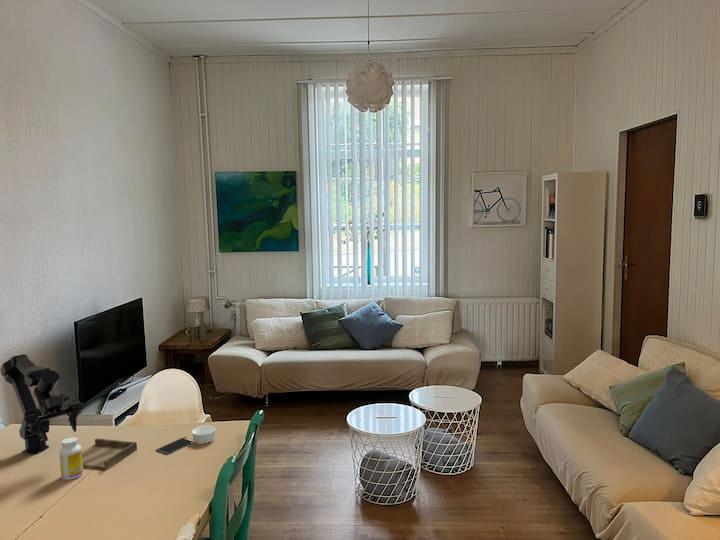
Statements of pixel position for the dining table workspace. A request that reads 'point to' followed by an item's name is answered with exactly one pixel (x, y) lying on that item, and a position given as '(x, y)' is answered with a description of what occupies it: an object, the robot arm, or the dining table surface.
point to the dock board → (107, 453)
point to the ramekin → (203, 434)
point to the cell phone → (174, 446)
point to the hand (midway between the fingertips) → (61, 435)
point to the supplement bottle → (70, 459)
